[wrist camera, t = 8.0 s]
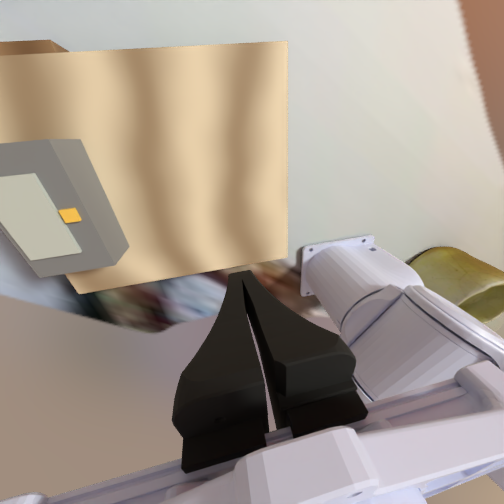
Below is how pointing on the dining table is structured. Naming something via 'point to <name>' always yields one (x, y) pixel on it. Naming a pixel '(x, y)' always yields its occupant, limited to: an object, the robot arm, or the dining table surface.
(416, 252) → the dining table surface
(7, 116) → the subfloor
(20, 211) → the block
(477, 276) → the mug
